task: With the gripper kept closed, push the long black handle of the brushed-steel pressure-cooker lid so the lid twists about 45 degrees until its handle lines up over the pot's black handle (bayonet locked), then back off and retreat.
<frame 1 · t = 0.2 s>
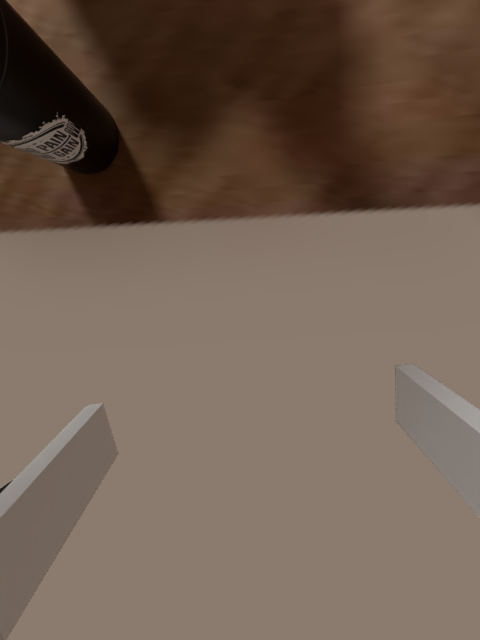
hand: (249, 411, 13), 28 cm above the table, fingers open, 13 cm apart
water bottle: (85, 137, 35), on the table
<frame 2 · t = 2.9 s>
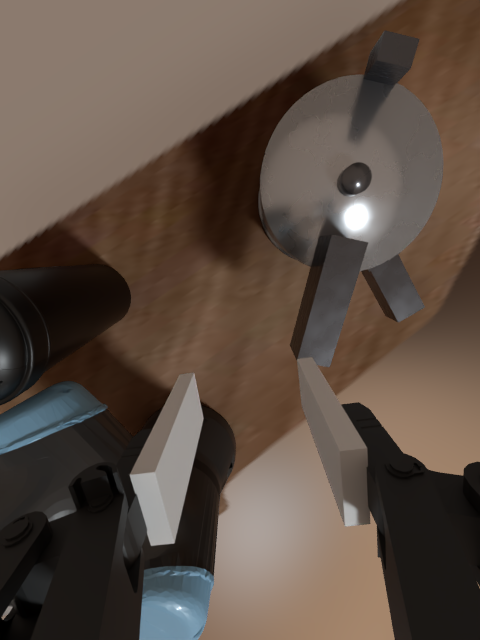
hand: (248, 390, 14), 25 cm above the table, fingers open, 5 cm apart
water bottle: (100, 295, 39), on the table
lid: (345, 219, 24), point 12 cm above the table, hinge at 45.0°
pot: (319, 200, 35), on the table
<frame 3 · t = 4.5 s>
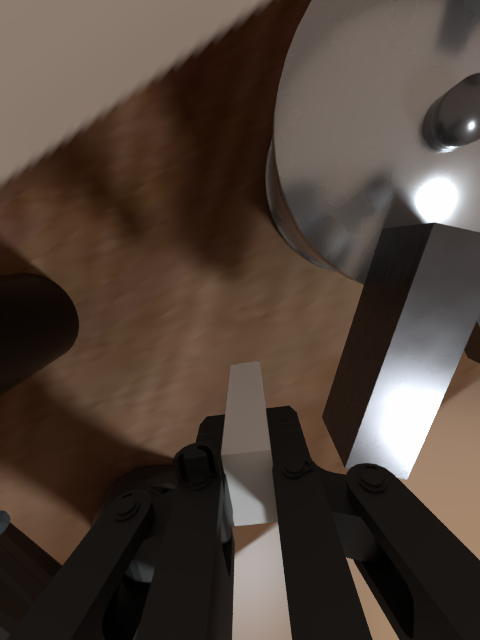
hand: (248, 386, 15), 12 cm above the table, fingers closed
water bottle: (35, 317, 27), on the table
lid: (442, 194, 12), point 12 cm above the table, hinge at 45.0°
pot: (358, 177, 23), on the table
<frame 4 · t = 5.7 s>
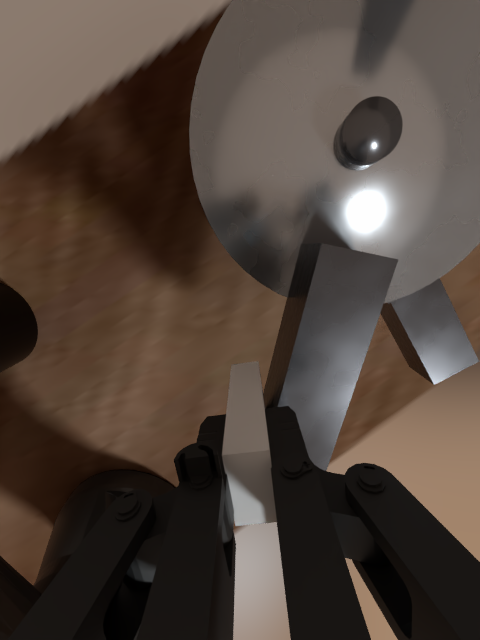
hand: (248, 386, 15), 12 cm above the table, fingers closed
lid: (348, 212, 13), point 12 cm above the table, hinge at 44.7°, touching gripper
pot: (309, 187, 23), on the table
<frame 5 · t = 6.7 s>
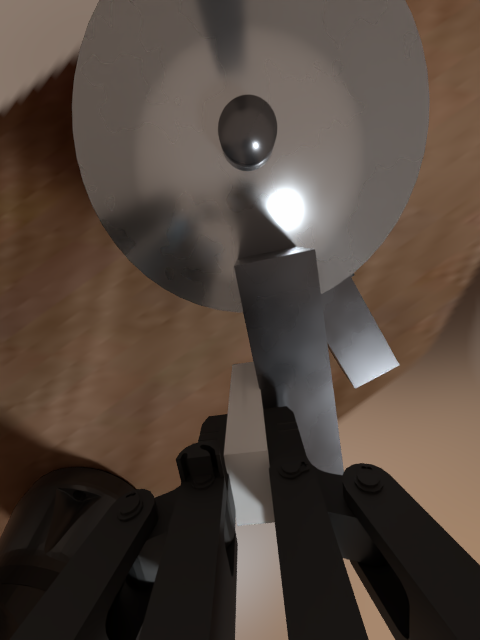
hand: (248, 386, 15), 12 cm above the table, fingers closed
lid: (262, 215, 12), point 12 cm above the table, hinge at 21.6°, touching gripper
pot: (247, 185, 23), on the table
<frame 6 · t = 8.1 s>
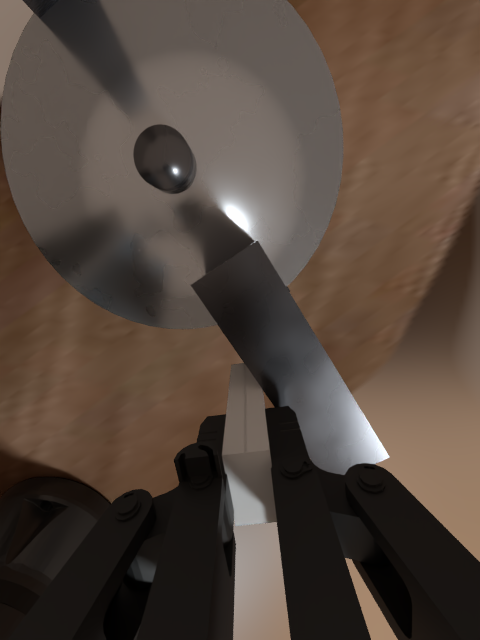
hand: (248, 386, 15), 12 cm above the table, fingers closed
lid: (206, 226, 13), point 12 cm above the table, hinge at 0.5°, touching gripper
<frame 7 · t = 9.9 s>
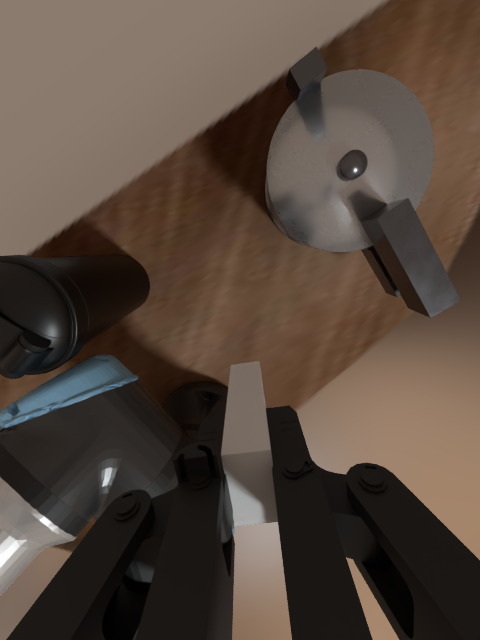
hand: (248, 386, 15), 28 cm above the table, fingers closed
water bottle: (122, 283, 42), on the table
lid: (370, 195, 27), point 12 cm above the table, hinge at 0.5°
pot: (322, 187, 38), on the table
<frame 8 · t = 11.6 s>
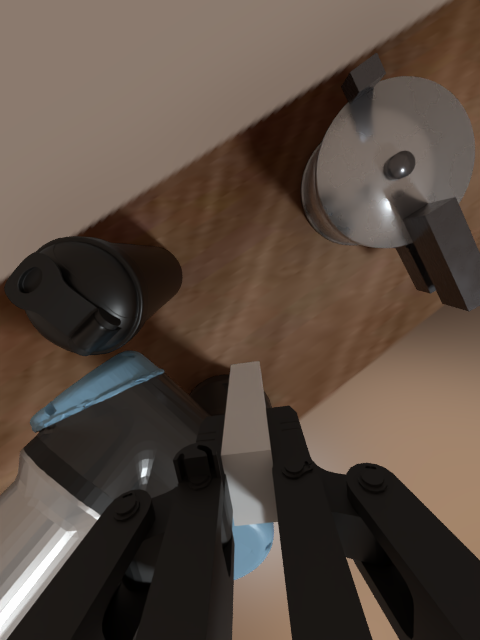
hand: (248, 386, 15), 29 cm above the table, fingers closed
water bottle: (155, 275, 43), on the table
lid: (416, 194, 28), point 12 cm above the table, hinge at 0.5°
pot: (356, 188, 39), on the table
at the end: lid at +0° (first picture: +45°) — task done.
